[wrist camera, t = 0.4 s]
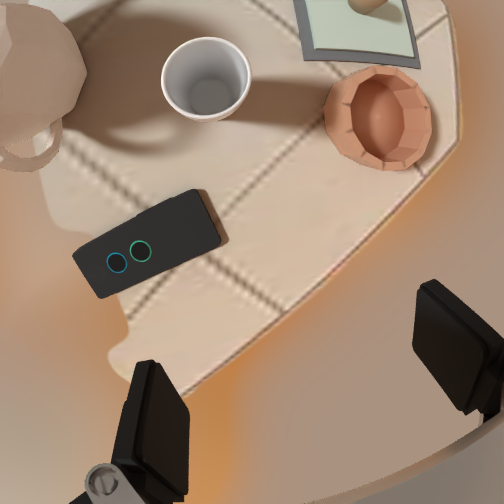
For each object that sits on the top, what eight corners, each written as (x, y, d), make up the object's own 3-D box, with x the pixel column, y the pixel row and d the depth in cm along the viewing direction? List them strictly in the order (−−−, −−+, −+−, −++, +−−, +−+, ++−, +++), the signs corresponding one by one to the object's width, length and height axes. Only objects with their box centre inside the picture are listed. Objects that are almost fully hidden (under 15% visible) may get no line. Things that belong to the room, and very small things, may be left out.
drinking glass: (241, 74, 32) (256, 38, 18) (236, 127, 34) (249, 122, 20) (185, 72, 31) (164, 35, 17) (180, 125, 33) (155, 120, 19)
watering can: (74, -17, 22) (10, -72, 5) (128, 128, 33) (50, 129, 15) (-5, 44, 23) (-85, 28, 6) (38, 185, 33) (-53, 228, 16)
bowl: (318, 72, 32) (335, 63, 27) (400, 76, 33) (425, 72, 27) (329, 167, 37) (347, 173, 32) (408, 162, 38) (433, 168, 32)
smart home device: (69, 253, 36) (194, 187, 35) (74, 249, 38) (195, 184, 37) (100, 301, 39) (223, 246, 38) (103, 295, 41) (222, 241, 40)
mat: (282, -46, 25) (283, -47, 24) (394, -29, 25) (396, -30, 25) (304, 60, 32) (304, 59, 31) (418, 68, 32) (420, 68, 32)
